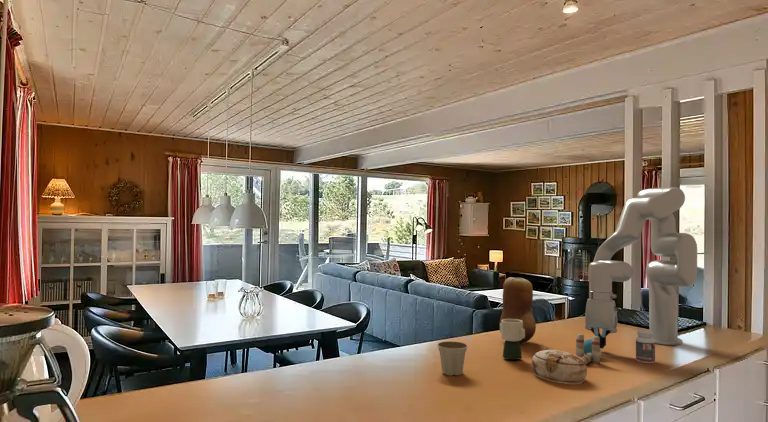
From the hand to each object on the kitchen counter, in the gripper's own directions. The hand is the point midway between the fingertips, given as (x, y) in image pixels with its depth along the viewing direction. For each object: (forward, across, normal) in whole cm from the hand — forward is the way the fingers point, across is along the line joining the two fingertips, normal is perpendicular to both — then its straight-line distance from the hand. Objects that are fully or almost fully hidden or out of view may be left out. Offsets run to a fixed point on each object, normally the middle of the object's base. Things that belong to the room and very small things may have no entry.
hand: (601, 347), depth 175 cm
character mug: (+2, +21, +29) cm, 36 cm away
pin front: (0, 0, +14) cm, 14 cm away
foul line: (+2, 0, +5) cm, 5 cm away
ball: (-2, +1, +10) cm, 10 cm away
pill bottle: (+2, -15, +4) cm, 16 cm away
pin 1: (+2, +2, +16) cm, 16 cm away
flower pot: (+2, +29, +55) cm, 62 cm away
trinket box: (+2, +2, +39) cm, 39 cm away
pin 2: (+2, -2, +16) cm, 16 cm away
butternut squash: (+2, +29, +6) cm, 30 cm away
